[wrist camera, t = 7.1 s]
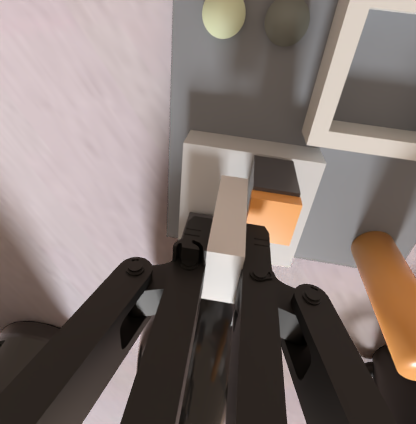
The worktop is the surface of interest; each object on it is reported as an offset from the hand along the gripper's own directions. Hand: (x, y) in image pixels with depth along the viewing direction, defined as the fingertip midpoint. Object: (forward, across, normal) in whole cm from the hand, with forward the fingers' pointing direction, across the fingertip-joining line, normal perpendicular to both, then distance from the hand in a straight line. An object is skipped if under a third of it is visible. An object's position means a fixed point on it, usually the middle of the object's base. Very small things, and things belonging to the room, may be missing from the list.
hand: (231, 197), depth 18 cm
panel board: (+7, +5, +2) cm, 9 cm away
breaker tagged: (+3, +2, 0) cm, 3 cm away
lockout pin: (+5, +12, -6) cm, 14 cm away
